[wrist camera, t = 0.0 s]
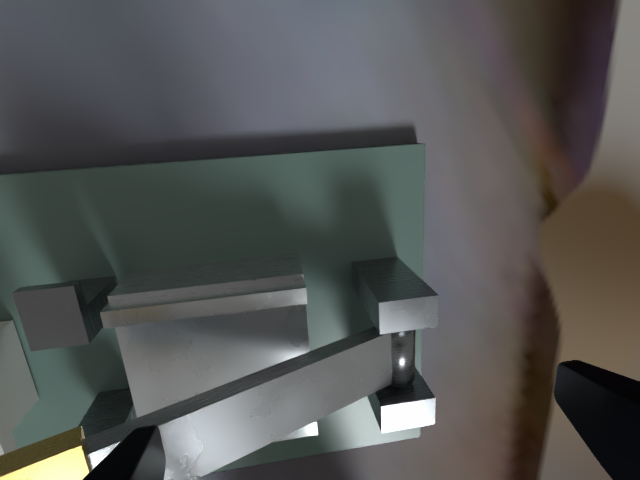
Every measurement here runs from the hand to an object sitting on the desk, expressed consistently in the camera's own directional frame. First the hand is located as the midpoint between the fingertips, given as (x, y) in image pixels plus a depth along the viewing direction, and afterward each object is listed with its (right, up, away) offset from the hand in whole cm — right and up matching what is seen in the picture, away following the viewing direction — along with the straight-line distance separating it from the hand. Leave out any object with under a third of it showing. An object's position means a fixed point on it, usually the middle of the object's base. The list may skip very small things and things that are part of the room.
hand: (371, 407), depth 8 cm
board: (-8, -2, +15) cm, 17 cm away
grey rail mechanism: (-5, -2, +14) cm, 15 cm away
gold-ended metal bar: (-5, -3, +8) cm, 10 cm away
